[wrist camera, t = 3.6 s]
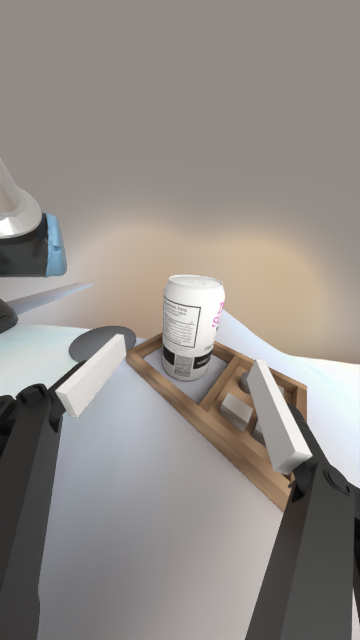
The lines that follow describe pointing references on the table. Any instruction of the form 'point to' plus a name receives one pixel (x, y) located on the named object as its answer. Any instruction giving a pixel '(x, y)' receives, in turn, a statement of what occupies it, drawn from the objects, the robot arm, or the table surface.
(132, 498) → the table surface
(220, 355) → the parts tray
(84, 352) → the coaster
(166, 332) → the supplement can
